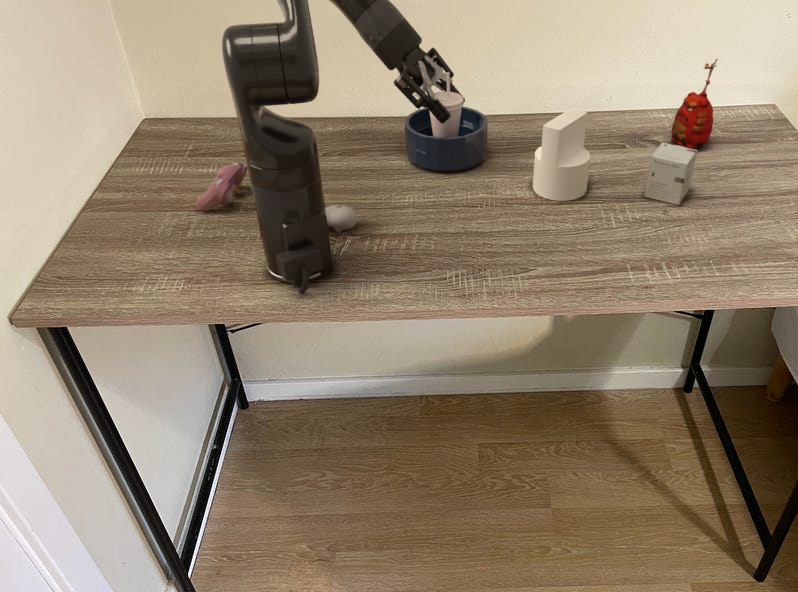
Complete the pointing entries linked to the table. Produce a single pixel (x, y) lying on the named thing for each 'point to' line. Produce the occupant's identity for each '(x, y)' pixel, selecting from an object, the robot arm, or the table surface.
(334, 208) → the white head bust
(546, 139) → the base with upright slab
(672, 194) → the product carton
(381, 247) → the table surface
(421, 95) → the robot arm
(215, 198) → the video game controller
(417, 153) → the bowl
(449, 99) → the smoothie
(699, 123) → the red clay folk toy
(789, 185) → the table surface
